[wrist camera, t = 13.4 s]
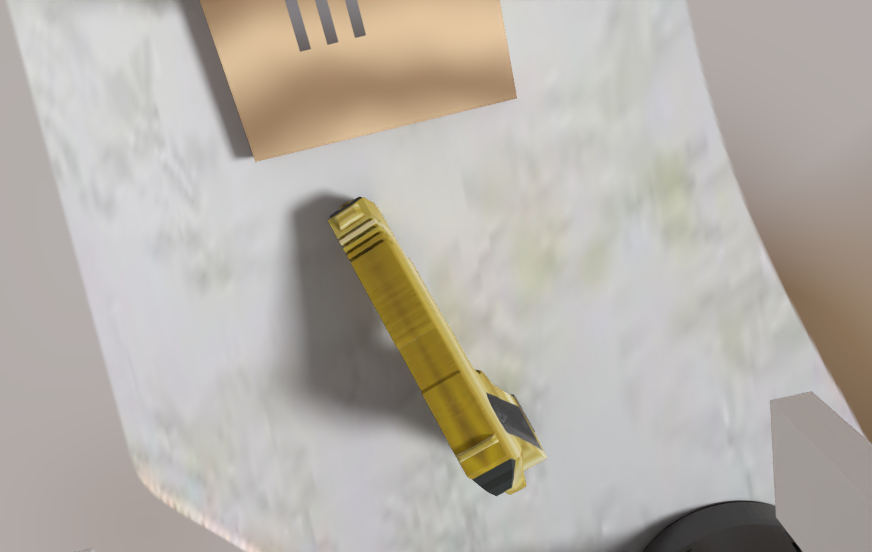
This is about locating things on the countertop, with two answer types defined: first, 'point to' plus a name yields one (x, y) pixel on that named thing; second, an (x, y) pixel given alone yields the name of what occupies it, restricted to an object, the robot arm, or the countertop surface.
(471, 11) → the board
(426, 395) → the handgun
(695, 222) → the countertop surface
